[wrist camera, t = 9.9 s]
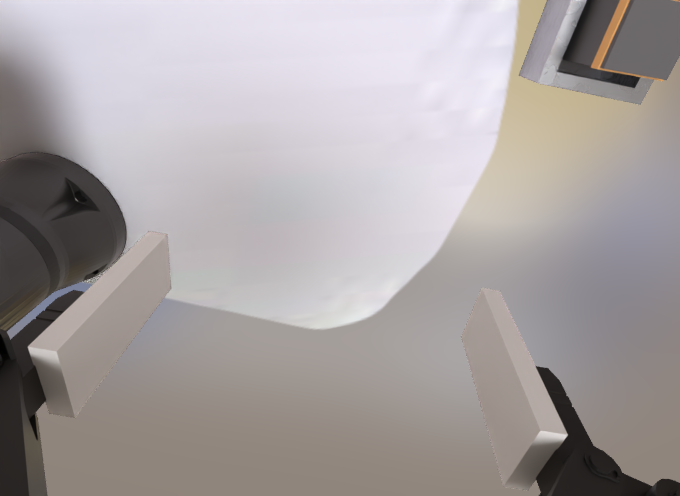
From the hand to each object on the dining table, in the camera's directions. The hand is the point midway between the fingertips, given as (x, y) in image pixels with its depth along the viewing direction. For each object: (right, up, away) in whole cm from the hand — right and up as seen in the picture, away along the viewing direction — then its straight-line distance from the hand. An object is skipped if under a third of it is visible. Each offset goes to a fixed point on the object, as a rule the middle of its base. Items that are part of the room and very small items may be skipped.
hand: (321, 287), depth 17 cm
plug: (+20, +19, +15) cm, 31 cm away
